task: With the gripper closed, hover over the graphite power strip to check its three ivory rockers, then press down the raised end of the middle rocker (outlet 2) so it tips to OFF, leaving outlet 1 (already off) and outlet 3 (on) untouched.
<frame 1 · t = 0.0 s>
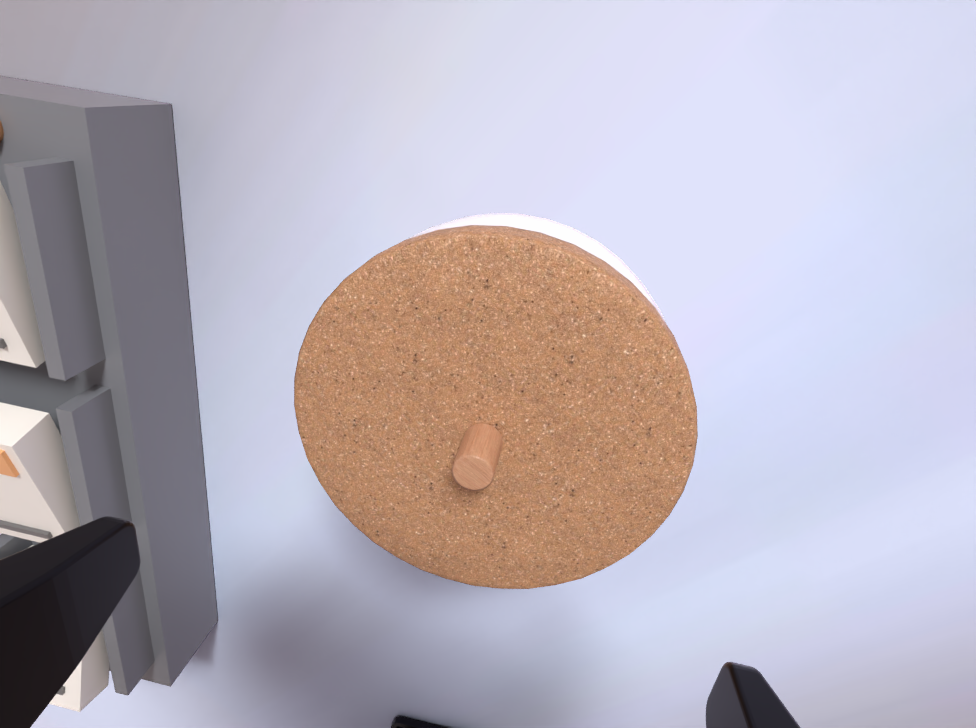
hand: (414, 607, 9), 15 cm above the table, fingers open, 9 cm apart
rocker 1: (54, 628, 26), point 6 cm above the table, hinge at 14.0°
lidded jar: (520, 327, 23), on the table
power strip: (127, 401, 27), on the table
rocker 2: (14, 477, 22), point 6 cm above the table, hinge at -14.0°
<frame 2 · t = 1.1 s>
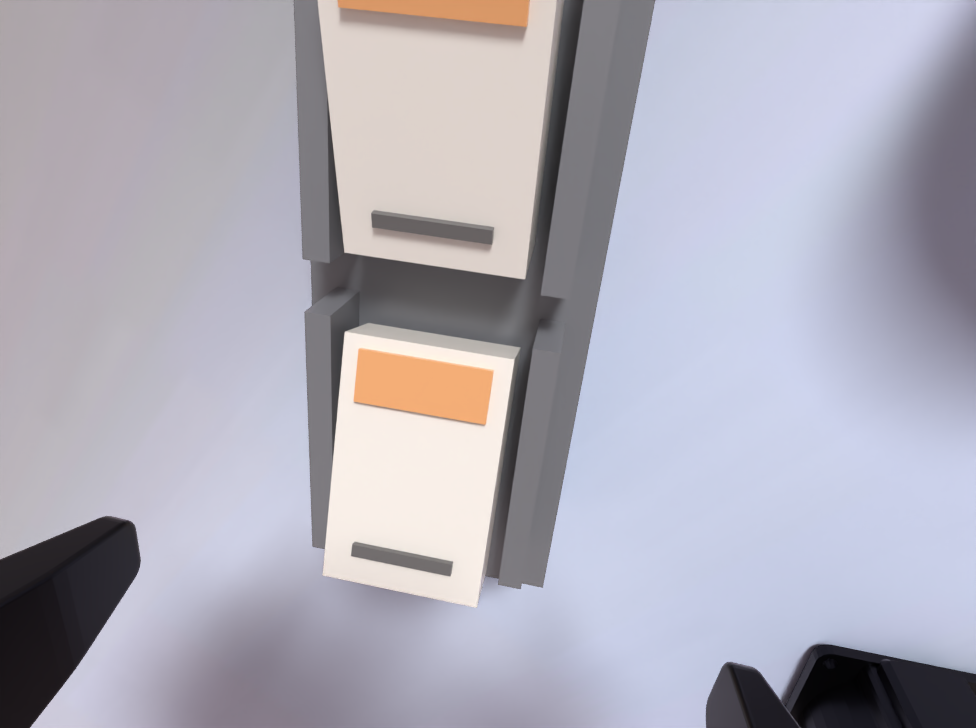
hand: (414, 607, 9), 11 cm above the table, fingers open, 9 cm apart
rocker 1: (420, 462, 14), point 6 cm above the table, hinge at 14.0°
power strip: (494, 95, 16), on the table
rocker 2: (443, 102, 11), point 6 cm above the table, hinge at -14.0°
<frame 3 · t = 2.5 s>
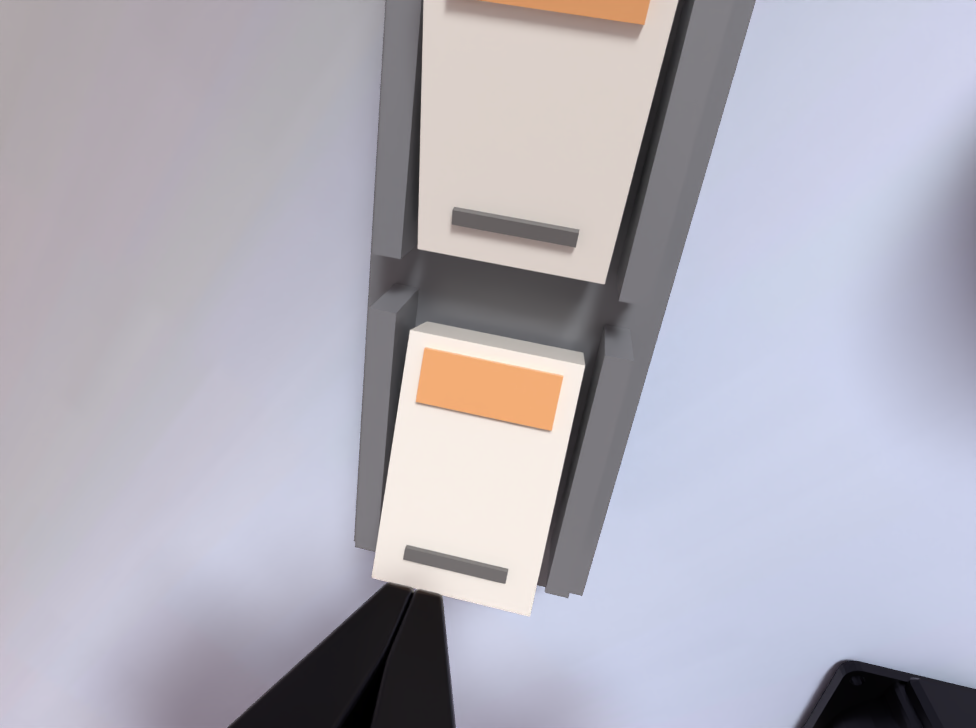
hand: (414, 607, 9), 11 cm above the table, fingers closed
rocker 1: (476, 466, 14), point 6 cm above the table, hinge at 14.0°
power strip: (558, 94, 16), on the table
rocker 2: (537, 98, 11), point 6 cm above the table, hinge at -14.0°
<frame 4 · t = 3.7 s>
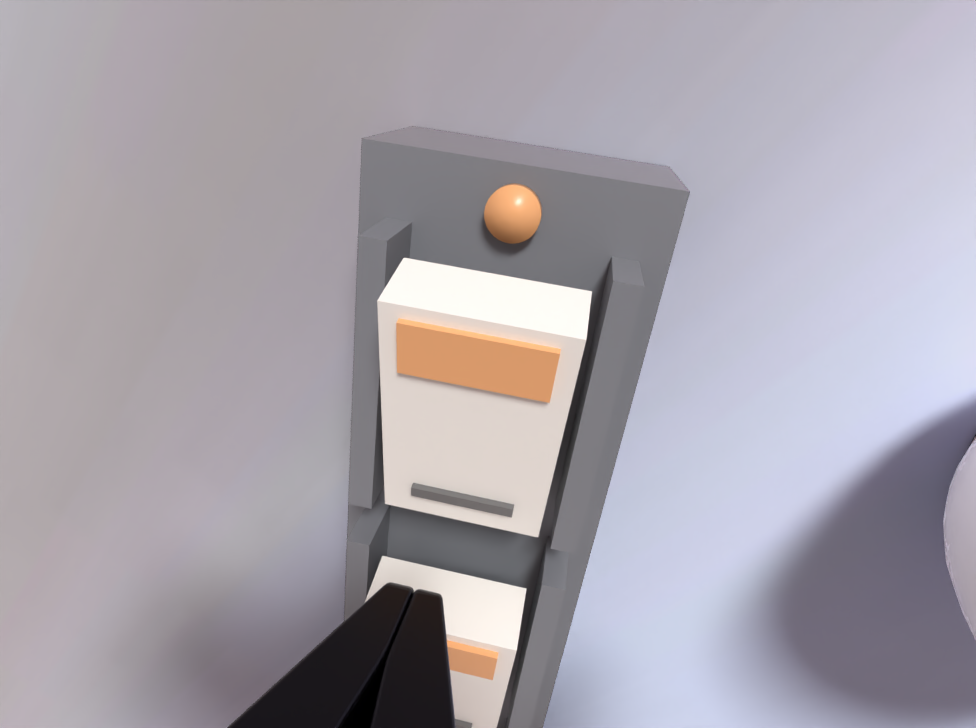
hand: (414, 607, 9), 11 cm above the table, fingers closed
rocker 3: (476, 411, 13), point 6 cm above the table, hinge at -14.0°
power strip: (478, 519, 22), on the table
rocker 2: (440, 658, 17), point 6 cm above the table, hinge at -14.0°
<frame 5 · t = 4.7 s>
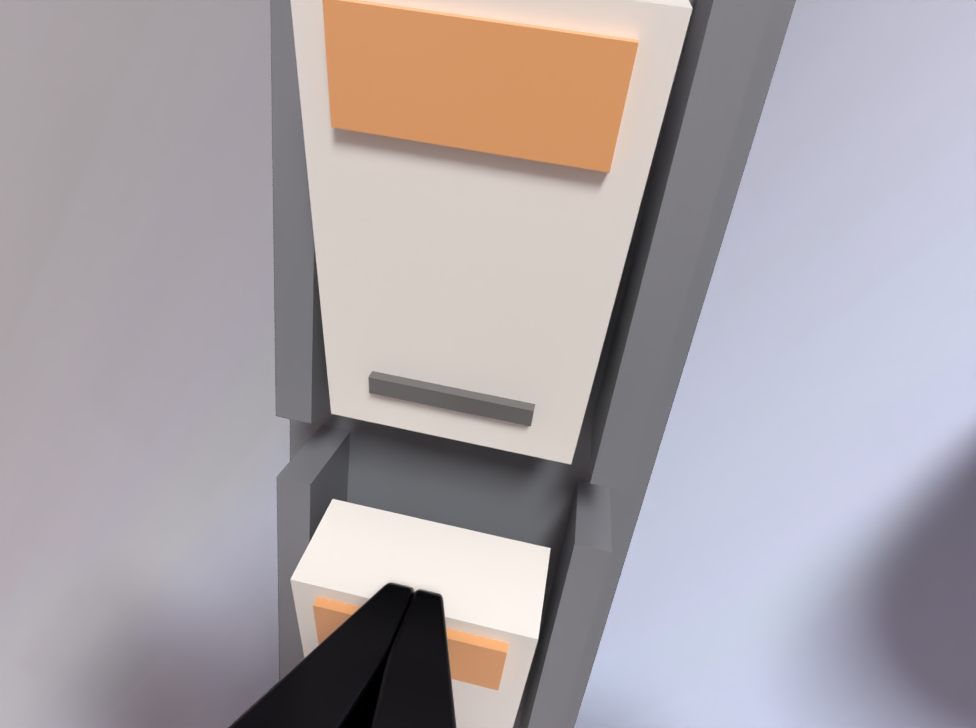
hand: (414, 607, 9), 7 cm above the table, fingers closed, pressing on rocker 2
rocker 3: (474, 241, 8), point 6 cm above the table, hinge at -14.0°
power strip: (477, 480, 17), on the table
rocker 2: (419, 660, 11), point 6 cm above the table, hinge at -12.6°, touching gripper
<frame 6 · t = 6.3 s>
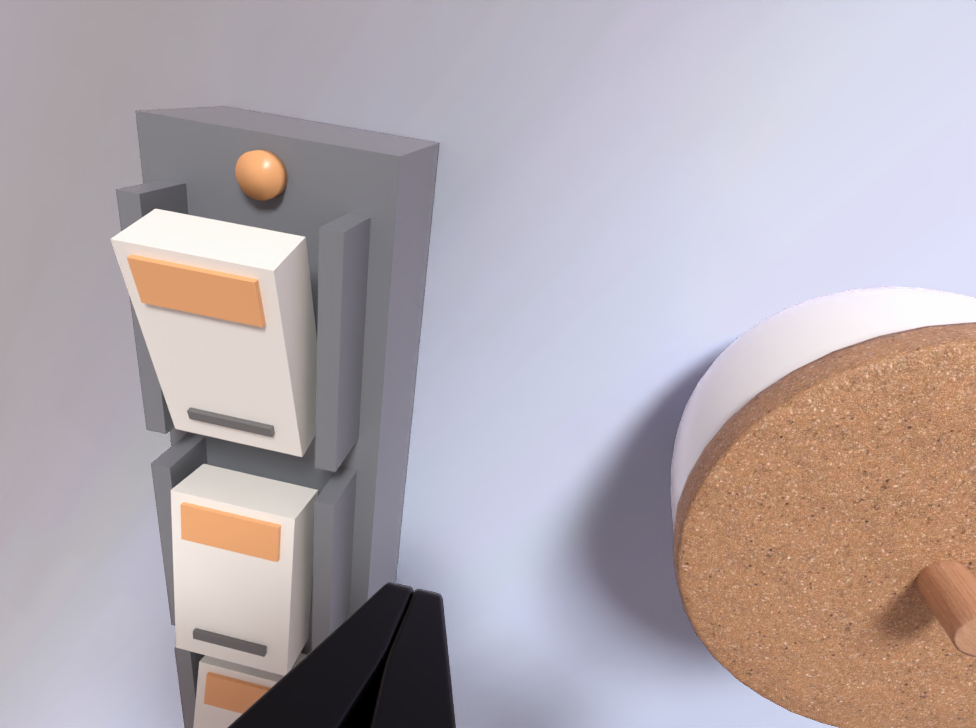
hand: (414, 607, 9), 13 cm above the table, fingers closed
rocker 3: (232, 343, 15), point 6 cm above the table, hinge at -14.0°
lidded jar: (818, 400, 20), on the table
power strip: (321, 467, 24), on the table
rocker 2: (244, 572, 19), point 6 cm above the table, hinge at 5.4°
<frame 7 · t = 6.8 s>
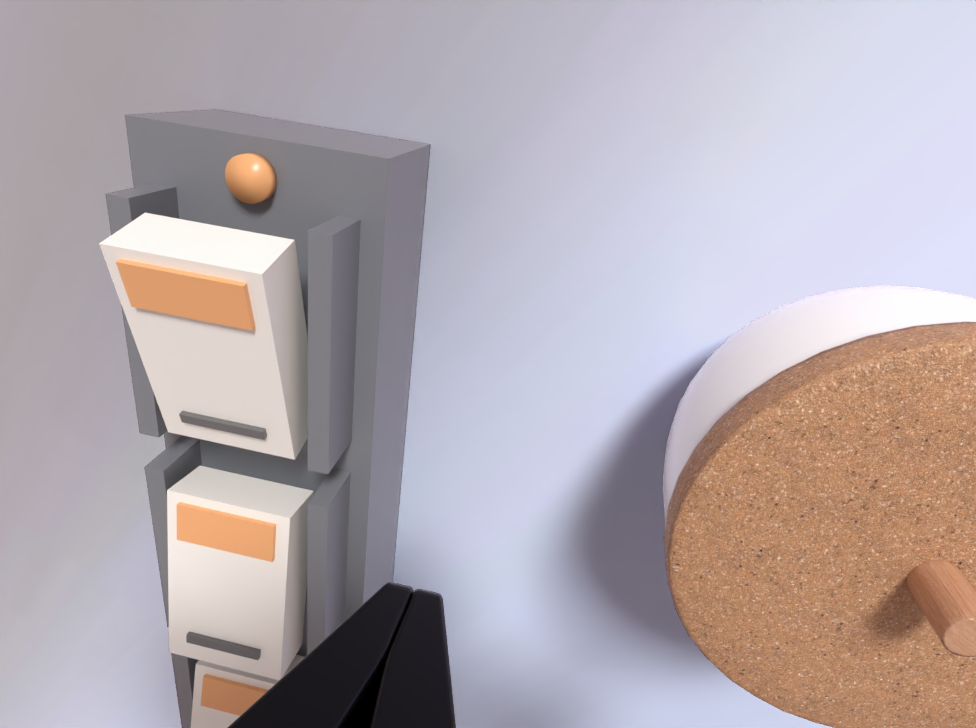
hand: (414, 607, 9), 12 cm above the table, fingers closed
rocker 3: (223, 346, 16), point 6 cm above the table, hinge at -14.0°
lidded jar: (812, 399, 20), on the table
power strip: (317, 468, 24), on the table
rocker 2: (238, 574, 19), point 6 cm above the table, hinge at 7.9°
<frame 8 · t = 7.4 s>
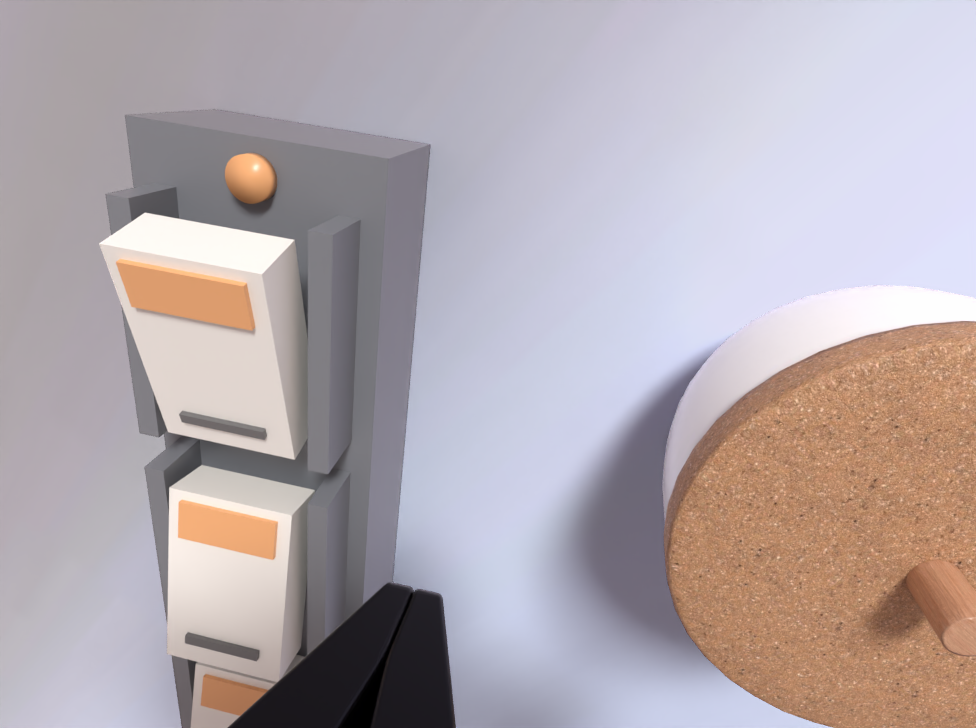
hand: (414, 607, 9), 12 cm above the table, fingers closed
rocker 3: (223, 346, 16), point 6 cm above the table, hinge at -14.0°
lidded jar: (812, 399, 20), on the table
power strip: (317, 468, 24), on the table
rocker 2: (238, 574, 19), point 6 cm above the table, hinge at 9.9°
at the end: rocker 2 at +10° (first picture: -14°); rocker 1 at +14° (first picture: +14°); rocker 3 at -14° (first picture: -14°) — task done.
